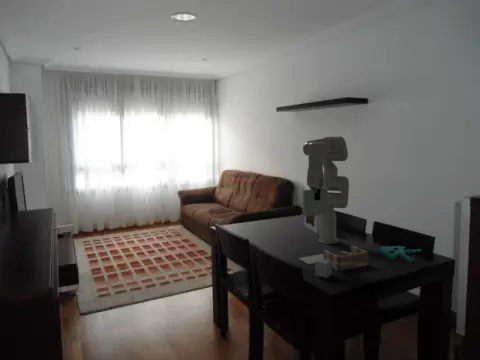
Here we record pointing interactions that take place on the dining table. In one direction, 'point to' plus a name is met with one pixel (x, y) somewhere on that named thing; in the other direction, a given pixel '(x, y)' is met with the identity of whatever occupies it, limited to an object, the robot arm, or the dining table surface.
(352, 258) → the brown wooden open box
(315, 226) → the gable box
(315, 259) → the felt mat
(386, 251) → the alien figure
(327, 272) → the skincare box
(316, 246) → the dining table surface
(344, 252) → the offcut top
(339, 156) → the robot arm
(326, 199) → the sheet
